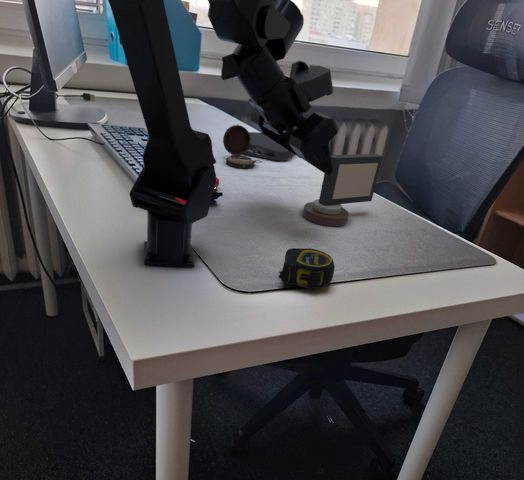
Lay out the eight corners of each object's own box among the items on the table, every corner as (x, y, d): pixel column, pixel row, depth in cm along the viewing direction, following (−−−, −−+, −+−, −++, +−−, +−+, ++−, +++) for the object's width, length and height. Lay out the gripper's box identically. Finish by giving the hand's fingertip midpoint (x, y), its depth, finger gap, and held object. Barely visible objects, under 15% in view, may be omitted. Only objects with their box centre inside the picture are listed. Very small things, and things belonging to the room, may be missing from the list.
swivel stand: (353, 228, 88) (355, 219, 87) (309, 225, 86) (310, 216, 85) (338, 211, 95) (340, 203, 94) (297, 208, 93) (299, 200, 92)
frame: (324, 215, 87) (336, 161, 82) (306, 205, 90) (317, 152, 85) (376, 210, 93) (390, 159, 88) (357, 200, 96) (370, 151, 91)
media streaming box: (298, 151, 129) (300, 139, 127) (284, 163, 117) (286, 150, 115) (243, 139, 131) (245, 127, 129) (224, 150, 119) (225, 137, 117)
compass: (230, 168, 108) (234, 132, 104) (220, 157, 114) (224, 122, 110) (265, 170, 110) (270, 134, 106) (254, 159, 116) (259, 125, 112)
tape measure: (283, 266, 71) (287, 241, 69) (331, 276, 71) (337, 251, 69) (276, 288, 66) (280, 261, 64) (328, 299, 65) (335, 272, 63)
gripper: (342, 51, 65) (387, 145, 76) (278, 34, 79) (324, 116, 89) (277, 113, 66) (331, 197, 77) (226, 86, 80) (277, 160, 90)
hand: (316, 164), depth 83 cm, fingers open, 9 cm apart
